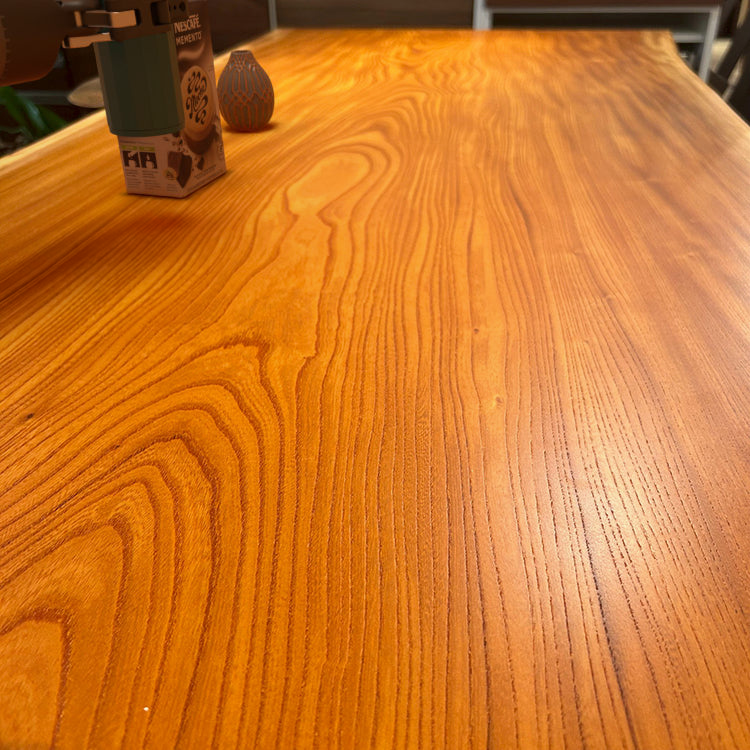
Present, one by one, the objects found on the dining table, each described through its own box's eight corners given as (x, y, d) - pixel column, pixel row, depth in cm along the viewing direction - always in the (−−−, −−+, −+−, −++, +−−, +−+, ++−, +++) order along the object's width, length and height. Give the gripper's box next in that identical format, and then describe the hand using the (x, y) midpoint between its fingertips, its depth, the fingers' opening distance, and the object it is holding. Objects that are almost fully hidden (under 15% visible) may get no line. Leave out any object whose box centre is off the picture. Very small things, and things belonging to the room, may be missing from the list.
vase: (232, 137, 91) (223, 57, 87) (212, 125, 97) (203, 50, 92) (285, 129, 94) (280, 52, 90) (263, 118, 100) (257, 45, 95)
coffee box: (185, 199, 71) (157, 6, 63) (125, 194, 73) (89, 6, 65) (229, 171, 79) (209, -4, 71) (173, 167, 81) (147, -4, 72)
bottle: (95, 136, 61) (46, -122, 52) (130, 119, 66) (90, -118, 57) (167, 138, 60) (129, -124, 51) (197, 121, 65) (167, -120, 56)
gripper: (22, -43, 42) (218, -53, 55) (-132, -44, 49) (76, -52, 61) (53, 100, 46) (230, 60, 59) (-94, 82, 52) (95, 50, 65)
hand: (151, 3), depth 60 cm, fingers closed on bottle, 6 cm apart
